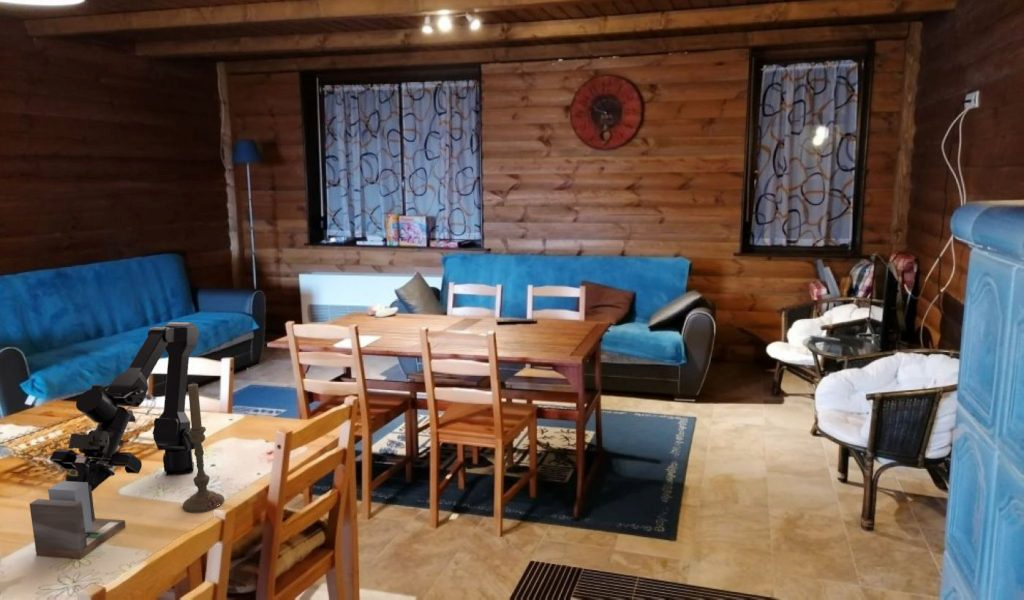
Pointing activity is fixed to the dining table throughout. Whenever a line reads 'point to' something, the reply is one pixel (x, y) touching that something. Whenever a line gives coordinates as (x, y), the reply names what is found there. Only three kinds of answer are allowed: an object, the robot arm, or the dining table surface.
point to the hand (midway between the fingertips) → (80, 498)
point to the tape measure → (72, 476)
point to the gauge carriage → (76, 499)
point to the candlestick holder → (199, 460)
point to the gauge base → (67, 529)
